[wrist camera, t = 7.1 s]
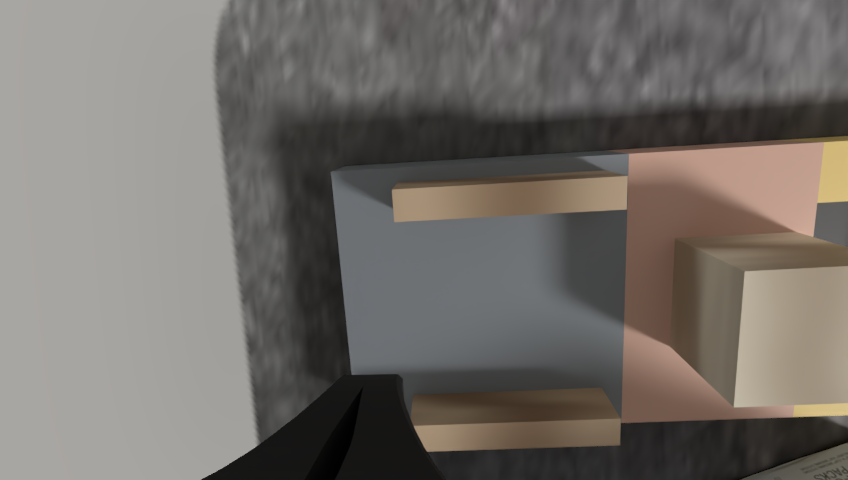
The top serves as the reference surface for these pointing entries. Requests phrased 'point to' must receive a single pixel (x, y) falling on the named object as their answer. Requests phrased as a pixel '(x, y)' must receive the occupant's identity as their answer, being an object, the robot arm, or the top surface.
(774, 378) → the birch block
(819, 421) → the top surface
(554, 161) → the board
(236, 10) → the top surface
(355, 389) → the robot arm
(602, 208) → the channel walls
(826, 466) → the tea box
